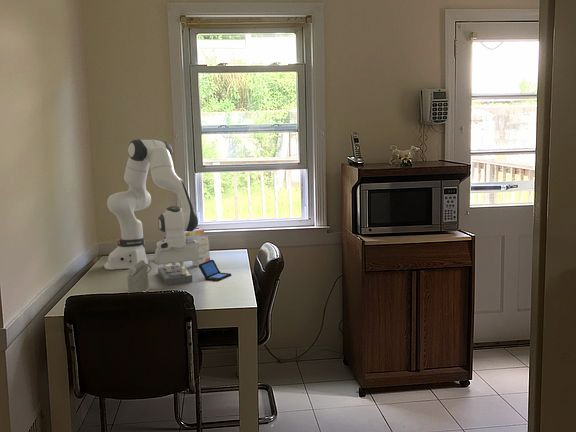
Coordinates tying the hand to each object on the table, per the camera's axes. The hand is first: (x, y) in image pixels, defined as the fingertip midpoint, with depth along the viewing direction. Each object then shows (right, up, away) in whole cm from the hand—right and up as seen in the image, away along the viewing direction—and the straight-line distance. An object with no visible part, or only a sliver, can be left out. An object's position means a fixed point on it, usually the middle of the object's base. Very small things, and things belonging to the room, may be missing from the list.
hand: (178, 271), depth 274 cm
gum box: (-7, +3, +58) cm, 59 cm away
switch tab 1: (-8, 0, +14) cm, 16 cm away
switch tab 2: (-5, -1, +7) cm, 9 cm away
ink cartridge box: (+6, 0, +34) cm, 35 cm away
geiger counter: (-12, -9, -23) cm, 27 cm away
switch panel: (-3, -4, +8) cm, 9 cm away
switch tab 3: (+2, -1, +1) cm, 3 cm away
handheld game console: (+17, -4, +6) cm, 18 cm away
